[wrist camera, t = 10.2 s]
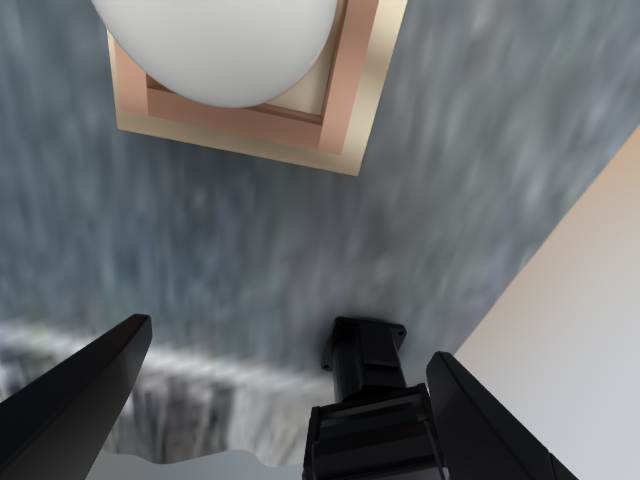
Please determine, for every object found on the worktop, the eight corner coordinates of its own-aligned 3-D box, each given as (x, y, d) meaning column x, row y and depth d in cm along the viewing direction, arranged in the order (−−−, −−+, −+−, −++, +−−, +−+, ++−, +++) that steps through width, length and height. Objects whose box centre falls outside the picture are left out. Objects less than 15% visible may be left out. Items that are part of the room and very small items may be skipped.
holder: (355, 170, 20) (365, 195, 17) (128, 124, 19) (84, 141, 15) (440, -139, 14) (488, -209, 10) (93, -261, 12) (-4, -402, 8)
